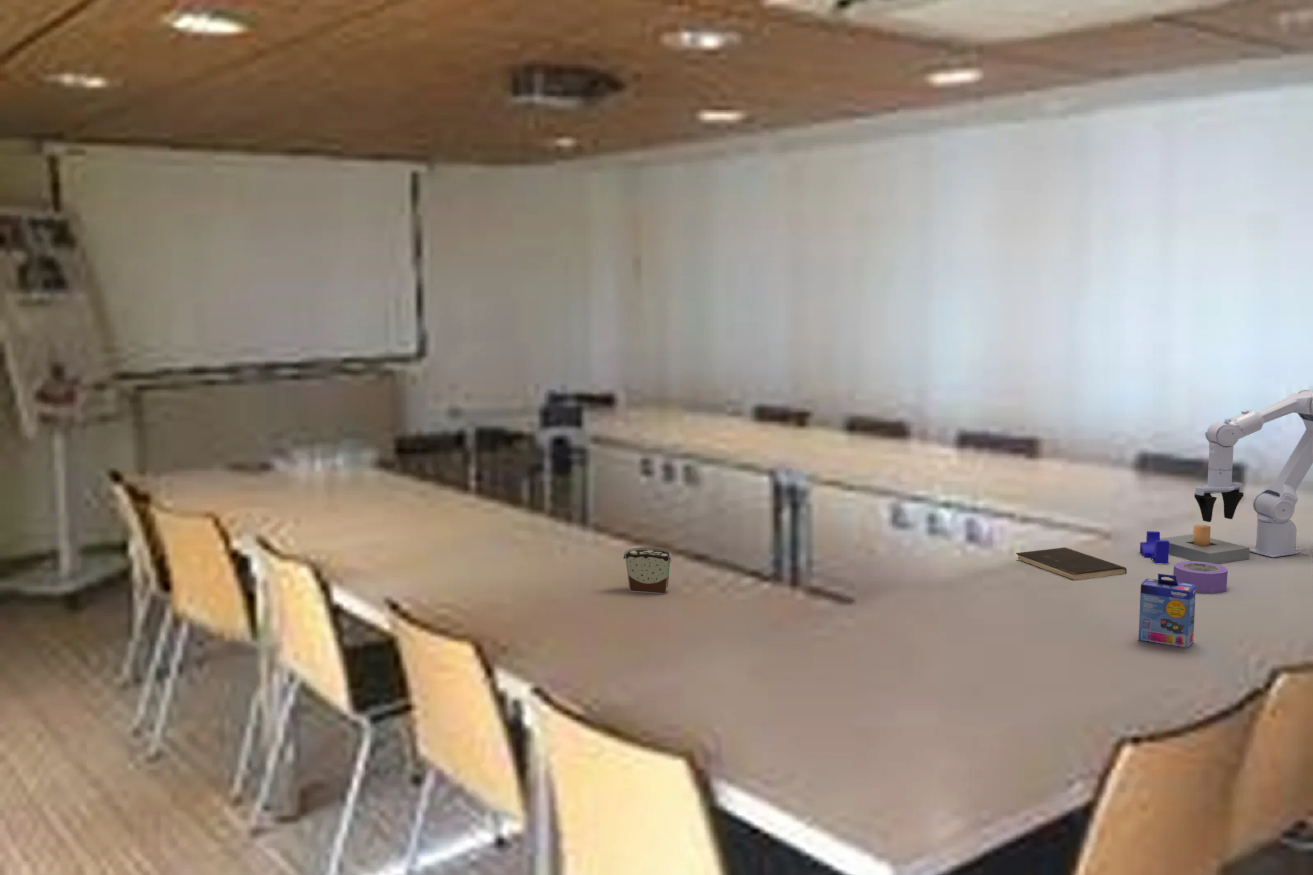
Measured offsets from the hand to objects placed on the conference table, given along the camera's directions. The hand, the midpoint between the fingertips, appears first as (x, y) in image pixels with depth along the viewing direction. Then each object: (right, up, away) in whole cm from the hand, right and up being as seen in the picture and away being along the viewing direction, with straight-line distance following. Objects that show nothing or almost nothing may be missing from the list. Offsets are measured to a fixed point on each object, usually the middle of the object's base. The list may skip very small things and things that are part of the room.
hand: (1217, 519), depth 320 cm
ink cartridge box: (-42, -21, -69) cm, 84 cm away
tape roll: (-17, -14, -29) cm, 36 cm away
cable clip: (-17, -10, -1) cm, 20 cm away
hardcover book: (-41, -12, -8) cm, 44 cm away
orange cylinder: (-3, -9, +2) cm, 10 cm away
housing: (-3, -9, +2) cm, 10 cm away
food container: (-148, -16, -23) cm, 151 cm away
